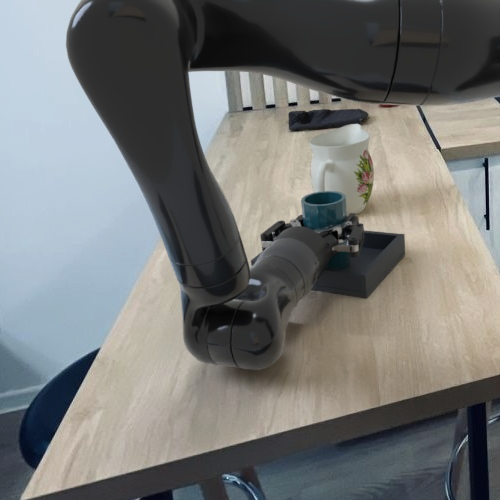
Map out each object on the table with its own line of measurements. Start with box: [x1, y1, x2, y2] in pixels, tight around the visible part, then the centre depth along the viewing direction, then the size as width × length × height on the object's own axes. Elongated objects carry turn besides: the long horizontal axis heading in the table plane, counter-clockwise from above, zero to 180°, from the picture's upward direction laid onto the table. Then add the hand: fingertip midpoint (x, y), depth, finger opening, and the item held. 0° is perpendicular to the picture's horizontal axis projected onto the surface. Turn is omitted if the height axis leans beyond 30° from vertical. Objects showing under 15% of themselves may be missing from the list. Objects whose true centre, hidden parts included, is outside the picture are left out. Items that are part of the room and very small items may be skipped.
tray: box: [250, 229, 406, 299], centre depth 96 cm, size 18×15×3 cm
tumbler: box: [300, 191, 350, 270], centre depth 94 cm, size 6×6×10 cm
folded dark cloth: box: [287, 108, 370, 132], centre depth 184 cm, size 15×22×5 cm
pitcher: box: [309, 123, 375, 216], centre depth 114 cm, size 11×18×14 cm, turn 151°
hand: (330, 218), depth 96 cm, fingers closed on tumbler, 6 cm apart
